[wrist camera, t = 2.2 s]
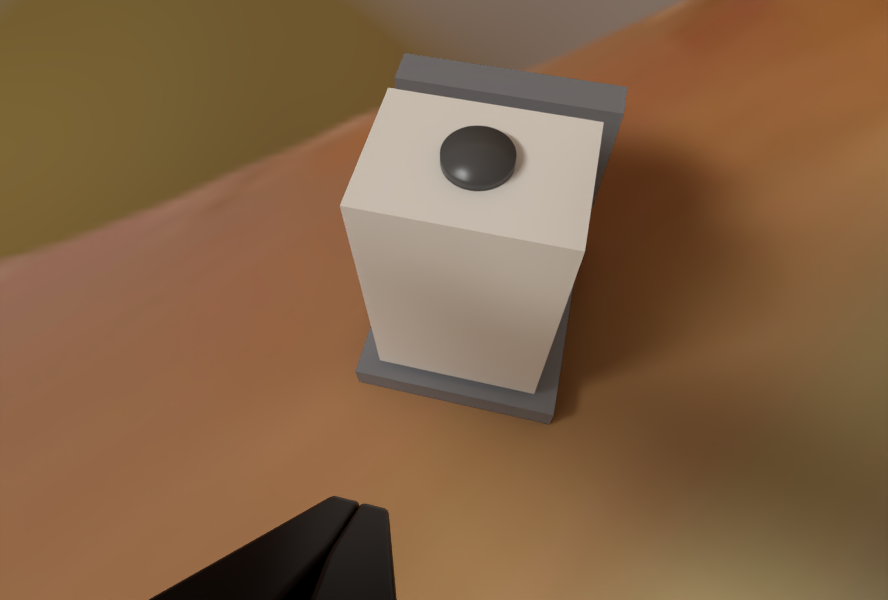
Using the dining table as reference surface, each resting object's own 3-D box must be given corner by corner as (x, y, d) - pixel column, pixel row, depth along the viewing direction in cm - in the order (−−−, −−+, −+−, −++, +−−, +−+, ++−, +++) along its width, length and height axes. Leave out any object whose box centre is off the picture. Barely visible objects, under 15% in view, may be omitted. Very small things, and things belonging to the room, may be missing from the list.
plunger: (534, 393, 20) (587, 243, 12) (379, 360, 21) (337, 197, 13) (550, 296, 22) (606, 112, 14) (408, 268, 23) (387, 78, 15)
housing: (549, 424, 21) (597, 323, 14) (359, 381, 22) (317, 266, 15) (578, 237, 25) (627, 86, 18) (416, 207, 26) (404, 53, 19)
